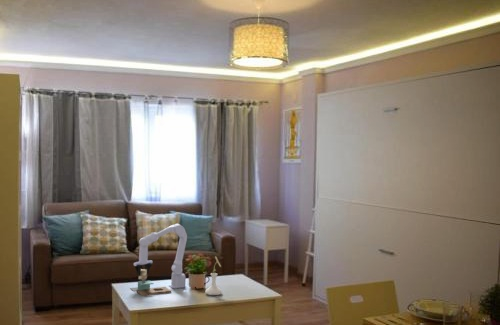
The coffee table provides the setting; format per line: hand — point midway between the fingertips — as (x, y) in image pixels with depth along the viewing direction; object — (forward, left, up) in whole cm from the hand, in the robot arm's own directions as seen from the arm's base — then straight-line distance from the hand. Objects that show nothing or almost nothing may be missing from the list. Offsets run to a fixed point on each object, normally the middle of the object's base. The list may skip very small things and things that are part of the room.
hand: (142, 275), depth 353 cm
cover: (+2, +12, -8) cm, 14 cm away
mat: (+3, 0, -10) cm, 10 cm away
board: (-4, +12, -9) cm, 16 cm away
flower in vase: (-39, +32, -10) cm, 52 cm away
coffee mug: (-37, +14, -10) cm, 41 cm away
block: (0, 0, -2) cm, 2 cm away
